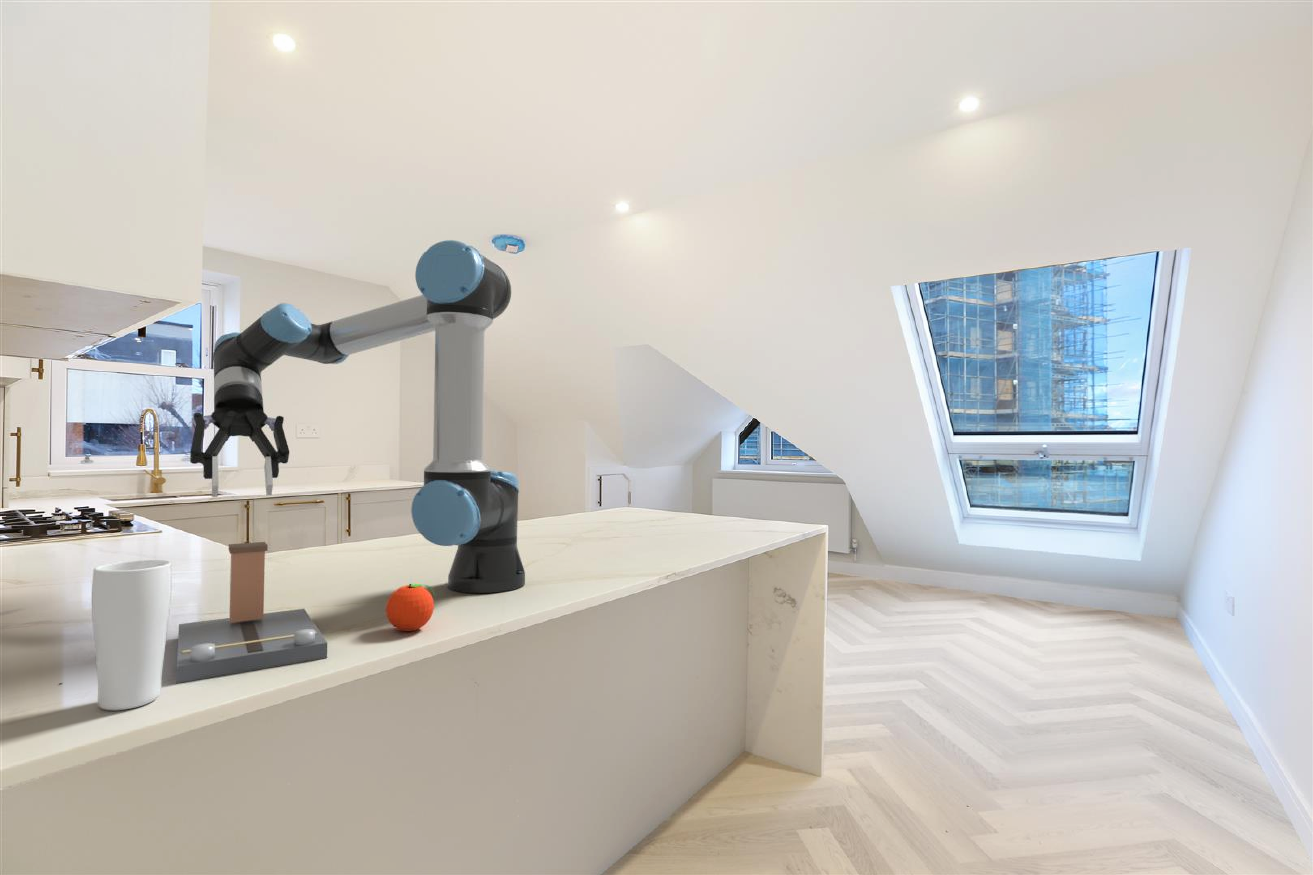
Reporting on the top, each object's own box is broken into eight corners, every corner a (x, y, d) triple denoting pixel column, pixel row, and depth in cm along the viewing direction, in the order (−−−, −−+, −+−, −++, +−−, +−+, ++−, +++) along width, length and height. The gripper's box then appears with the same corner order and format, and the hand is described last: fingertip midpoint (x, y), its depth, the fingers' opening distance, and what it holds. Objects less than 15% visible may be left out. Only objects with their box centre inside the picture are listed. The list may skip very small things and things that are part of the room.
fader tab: (263, 612, 97) (264, 541, 97) (265, 618, 94) (267, 545, 94) (226, 617, 94) (228, 544, 94) (228, 623, 91) (230, 548, 91)
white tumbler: (76, 707, 68) (80, 566, 68) (150, 686, 74) (153, 557, 74) (106, 720, 65) (110, 573, 65) (181, 697, 71) (184, 563, 71)
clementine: (420, 619, 103) (421, 576, 103) (448, 627, 99) (449, 581, 99) (375, 631, 96) (376, 585, 96) (404, 639, 93) (405, 591, 93)
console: (303, 621, 101) (304, 599, 101) (327, 657, 84) (327, 631, 84) (178, 637, 92) (179, 613, 92) (176, 683, 75) (177, 653, 75)
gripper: (297, 414, 126) (308, 502, 112) (171, 409, 114) (167, 508, 101) (301, 385, 121) (313, 474, 108) (171, 377, 110) (167, 476, 96)
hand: (243, 490), depth 104 cm, fingers open, 7 cm apart
